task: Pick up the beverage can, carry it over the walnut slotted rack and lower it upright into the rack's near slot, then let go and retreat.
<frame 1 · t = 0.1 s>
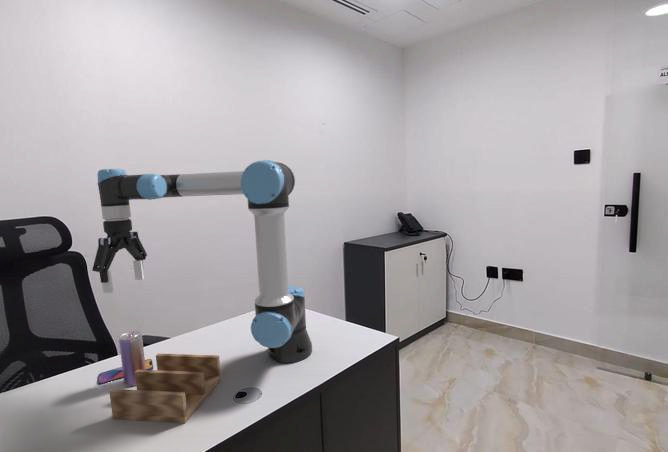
hand: (125, 285, 111), 28 cm above the table, fingers open, 13 cm apart
rack: (171, 397, 97), on the table
smartphone: (126, 373, 112), on the table
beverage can: (135, 382, 106), on the table
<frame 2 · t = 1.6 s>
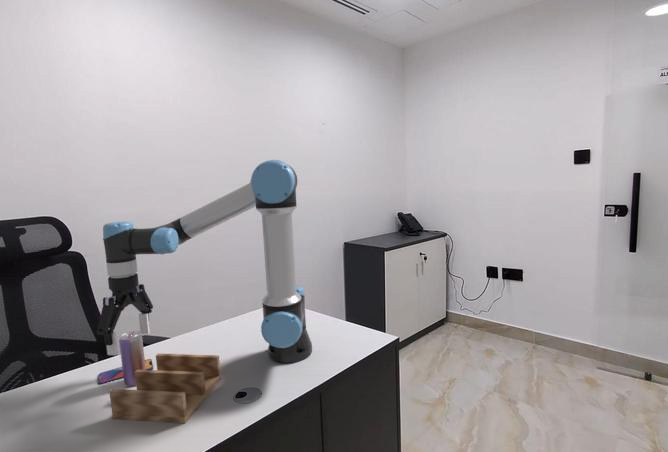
hand: (130, 343, 104), 12 cm above the table, fingers open, 13 cm apart
nothing on the table moved.
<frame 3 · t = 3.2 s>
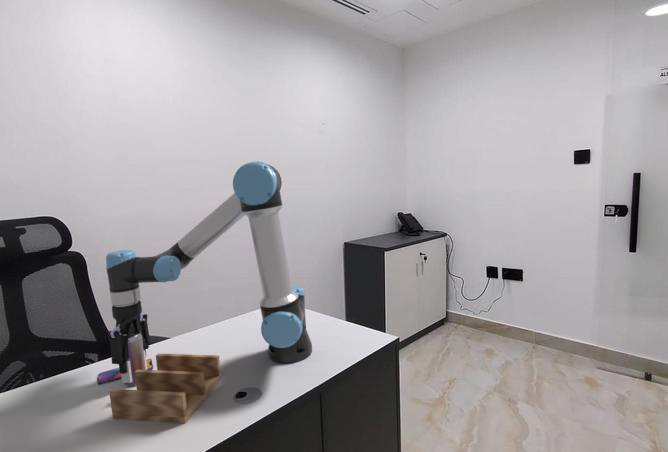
hand: (135, 375, 106), 2 cm above the table, fingers closed on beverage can, 6 cm apart
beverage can: (135, 382, 106), on the table, touching gripper
everything else where it was.
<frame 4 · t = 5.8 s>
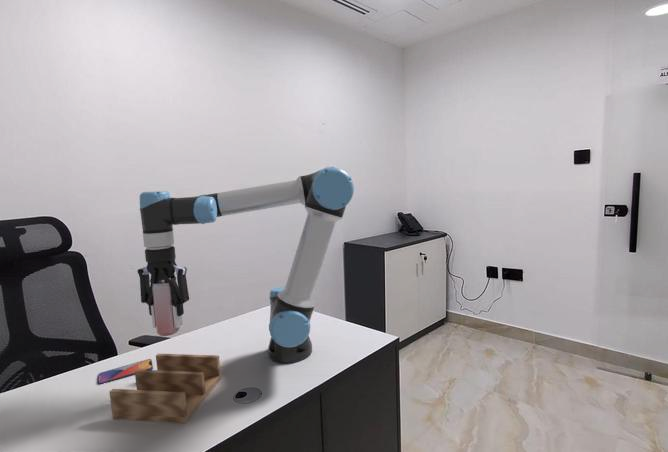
hand: (167, 325, 100), 19 cm above the table, fingers closed on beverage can, 6 cm apart
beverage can: (168, 332, 100), point 17 cm above the table, touching gripper
everything else where it was.
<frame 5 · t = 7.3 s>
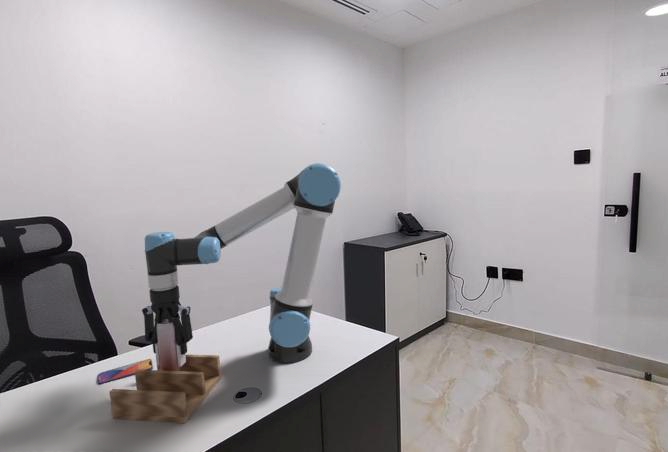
hand: (171, 363, 101), 7 cm above the table, fingers closed on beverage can, 6 cm apart
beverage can: (172, 370, 102), point 5 cm above the table, touching gripper
everything else where it was.
when the fingers open (5 cm above the table, at t = 8.4 s): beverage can drops 2 cm, resting on rack.
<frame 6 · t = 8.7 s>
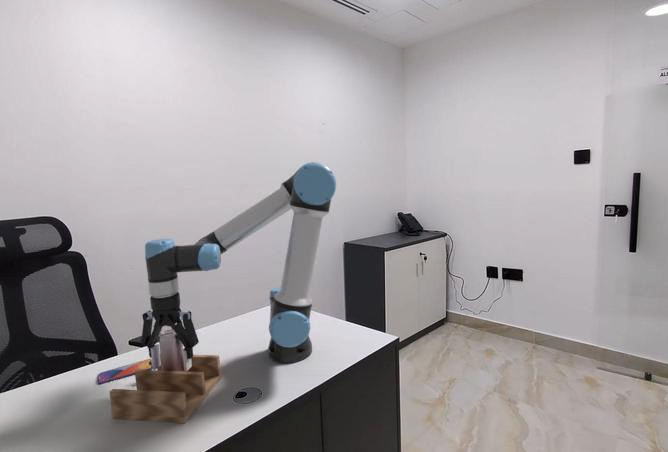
hand: (172, 367, 101), 6 cm above the table, fingers open, 9 cm apart
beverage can: (174, 382, 102), point 1 cm above the table, touching rack
everything else where it was.
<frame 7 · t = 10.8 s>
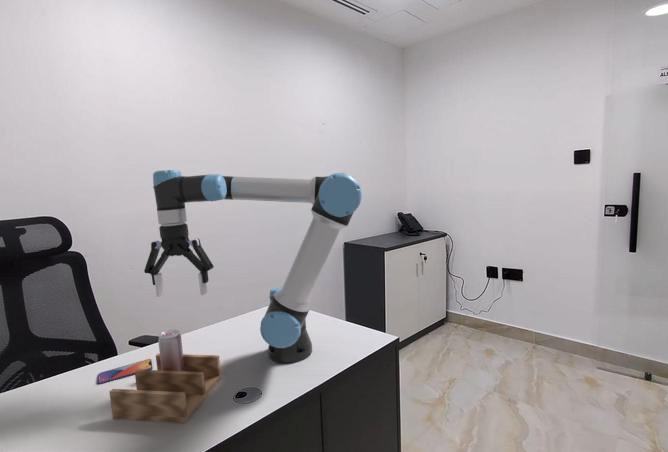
hand: (182, 294, 104), 26 cm above the table, fingers open, 13 cm apart
nothing on the table moved.
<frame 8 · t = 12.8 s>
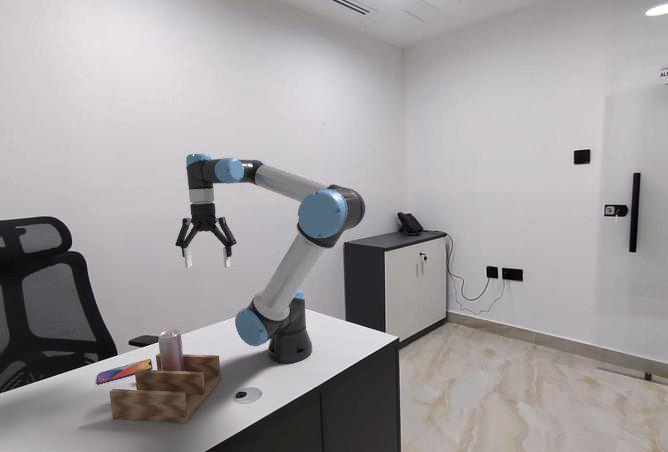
hand: (208, 266, 115), 32 cm above the table, fingers open, 13 cm apart
nothing on the table moved.
at the end: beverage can inside the target area on the rack (1.9 cm from its centre), point 1.3 cm above the rack's base; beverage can tilted 0°; the gripper is holding nothing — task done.
